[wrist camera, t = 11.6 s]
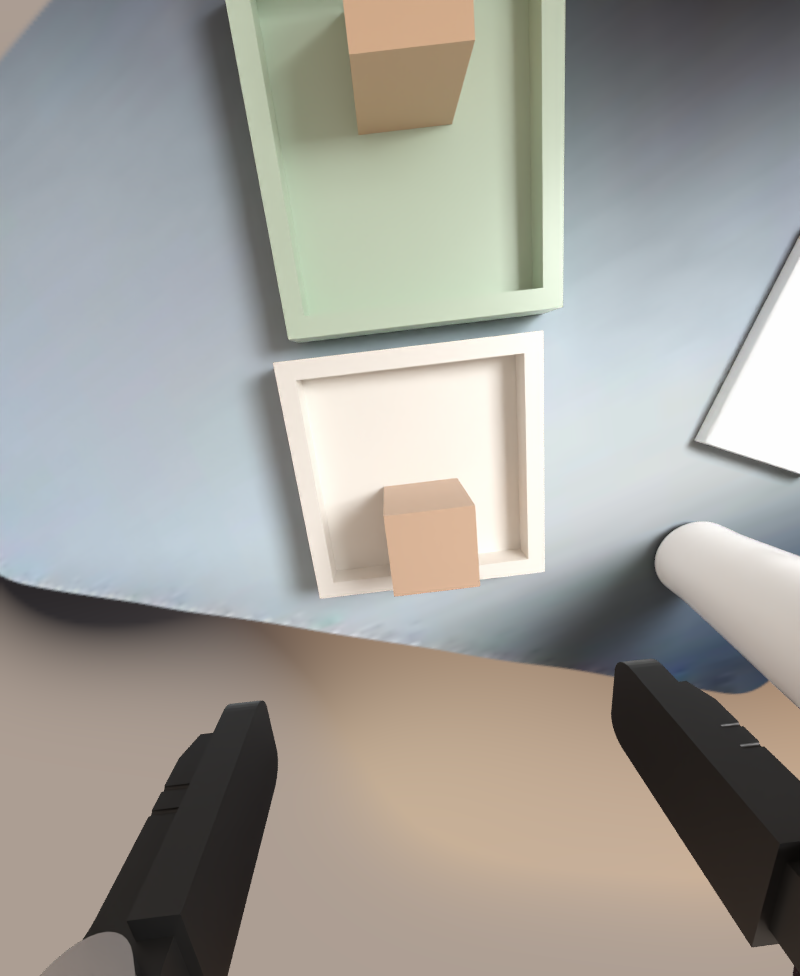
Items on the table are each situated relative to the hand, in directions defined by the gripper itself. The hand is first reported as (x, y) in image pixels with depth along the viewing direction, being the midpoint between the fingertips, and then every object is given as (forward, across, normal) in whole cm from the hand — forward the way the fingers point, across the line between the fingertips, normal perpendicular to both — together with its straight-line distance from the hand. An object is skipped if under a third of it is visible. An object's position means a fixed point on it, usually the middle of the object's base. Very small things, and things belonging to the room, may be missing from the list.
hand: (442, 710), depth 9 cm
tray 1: (+17, -2, -17) cm, 24 cm away
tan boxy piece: (+15, -2, -21) cm, 26 cm away
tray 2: (+17, -1, -2) cm, 17 cm away
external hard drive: (+17, -25, -6) cm, 31 cm away
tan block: (+16, -1, +1) cm, 16 cm away
